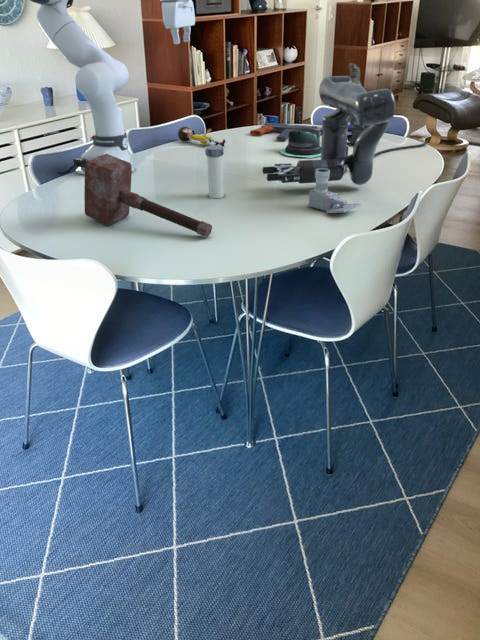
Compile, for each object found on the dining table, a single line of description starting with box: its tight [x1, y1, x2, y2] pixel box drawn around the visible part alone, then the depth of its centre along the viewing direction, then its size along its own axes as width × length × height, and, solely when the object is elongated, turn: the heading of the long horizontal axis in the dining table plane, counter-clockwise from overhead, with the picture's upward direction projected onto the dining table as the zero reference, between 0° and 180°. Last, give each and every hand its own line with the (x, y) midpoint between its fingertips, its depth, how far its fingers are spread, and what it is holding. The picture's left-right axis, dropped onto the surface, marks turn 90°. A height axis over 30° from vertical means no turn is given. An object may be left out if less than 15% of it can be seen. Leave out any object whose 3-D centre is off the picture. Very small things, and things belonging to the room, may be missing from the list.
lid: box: [204, 144, 224, 157], centre depth 180 cm, size 6×6×2 cm
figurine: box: [177, 126, 226, 147], centre depth 251 cm, size 13×8×25 cm
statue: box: [348, 62, 363, 127], centre depth 262 cm, size 11×9×30 cm
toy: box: [347, 122, 368, 145], centre depth 244 cm, size 9×9×15 cm
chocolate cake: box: [279, 128, 321, 159], centre depth 234 cm, size 15×19×20 cm
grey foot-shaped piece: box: [308, 168, 361, 214], centre depth 169 cm, size 9×12×15 cm
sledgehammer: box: [83, 154, 213, 238], centre depth 159 cm, size 17×10×40 cm
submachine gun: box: [249, 122, 322, 141], centre depth 263 cm, size 32×3×25 cm
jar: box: [206, 155, 225, 199], centre depth 183 cm, size 5×5×16 cm
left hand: (182, 42), depth 182 cm, fingers open, 8 cm apart
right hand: (264, 174), depth 185 cm, fingers open, 8 cm apart
